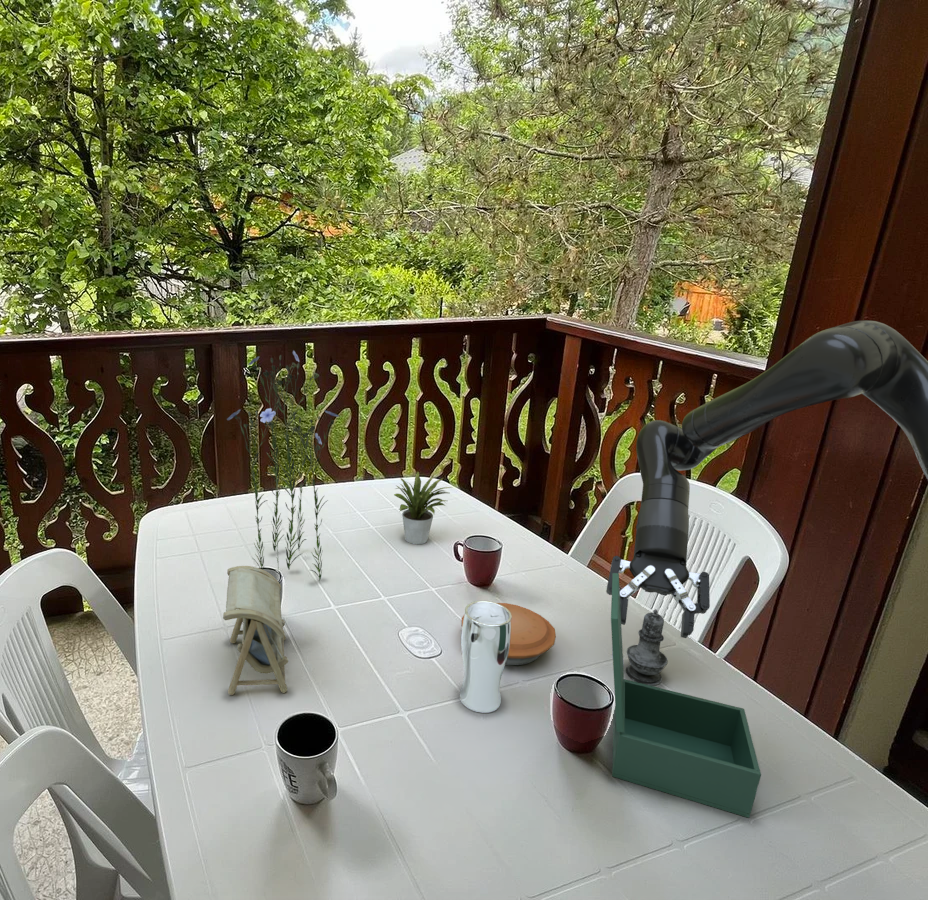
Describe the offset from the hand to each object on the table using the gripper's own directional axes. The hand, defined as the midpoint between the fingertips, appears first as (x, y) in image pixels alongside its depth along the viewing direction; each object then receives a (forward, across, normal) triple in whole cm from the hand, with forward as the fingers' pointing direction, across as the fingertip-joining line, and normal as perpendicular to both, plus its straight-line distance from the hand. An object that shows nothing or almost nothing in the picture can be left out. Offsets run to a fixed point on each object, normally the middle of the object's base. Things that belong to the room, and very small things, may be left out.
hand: (653, 629), depth 97 cm
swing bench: (+22, -57, -9) cm, 62 cm away
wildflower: (0, -68, +13) cm, 69 cm away
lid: (+8, -5, -16) cm, 18 cm away
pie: (+6, -21, +7) cm, 23 cm away
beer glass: (+17, -23, -4) cm, 29 cm away
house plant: (-16, -47, +30) cm, 58 cm away
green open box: (+18, +3, -5) cm, 19 cm away
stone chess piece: (+6, 0, +8) cm, 10 cm away
